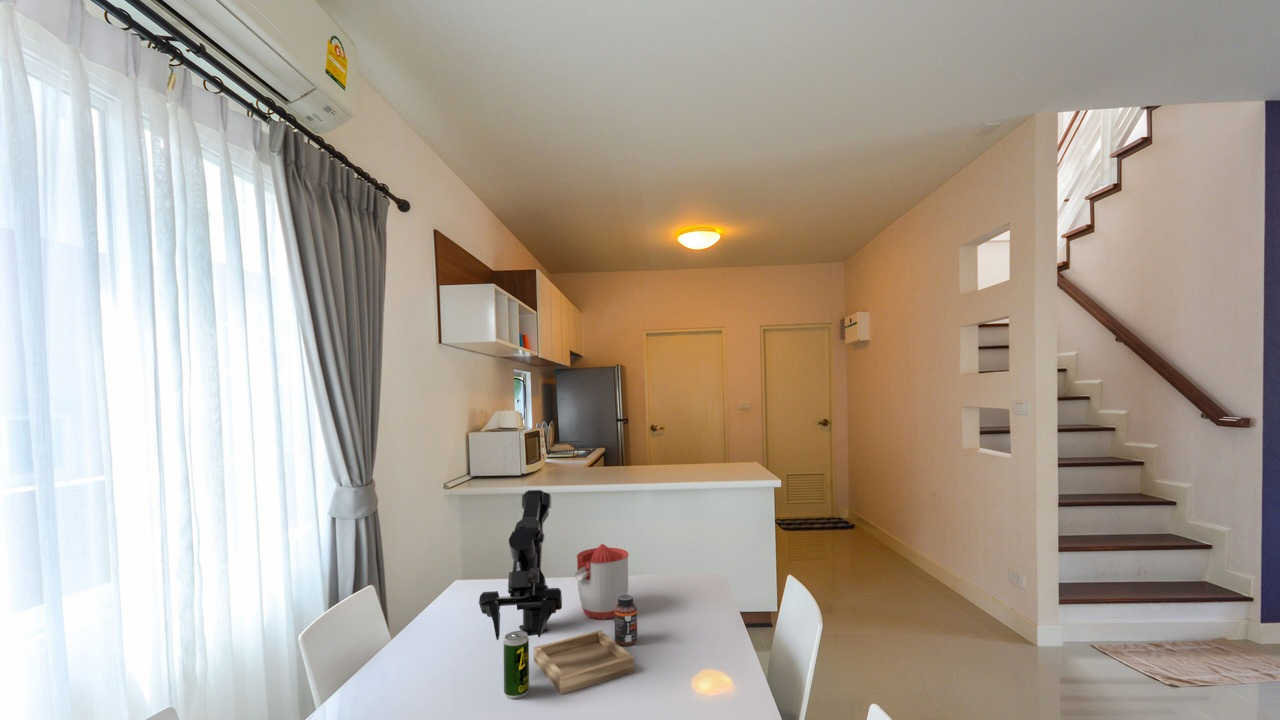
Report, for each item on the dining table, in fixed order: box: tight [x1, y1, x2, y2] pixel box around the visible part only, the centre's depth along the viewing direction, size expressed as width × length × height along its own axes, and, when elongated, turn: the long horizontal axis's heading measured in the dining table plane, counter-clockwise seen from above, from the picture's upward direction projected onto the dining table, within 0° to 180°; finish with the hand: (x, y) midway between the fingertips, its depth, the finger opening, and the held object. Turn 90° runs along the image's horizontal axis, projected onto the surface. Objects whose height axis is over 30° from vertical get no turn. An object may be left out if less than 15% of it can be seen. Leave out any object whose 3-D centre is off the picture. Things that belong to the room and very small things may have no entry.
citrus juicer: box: [573, 543, 630, 621], centre depth 161 cm, size 16×17×20 cm
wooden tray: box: [533, 630, 635, 695], centre depth 128 cm, size 18×18×3 cm
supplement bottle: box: [614, 594, 638, 647], centre depth 141 cm, size 6×6×11 cm
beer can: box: [503, 630, 530, 700], centre depth 118 cm, size 5×5×12 cm
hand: (518, 638), depth 121 cm, fingers open, 9 cm apart
